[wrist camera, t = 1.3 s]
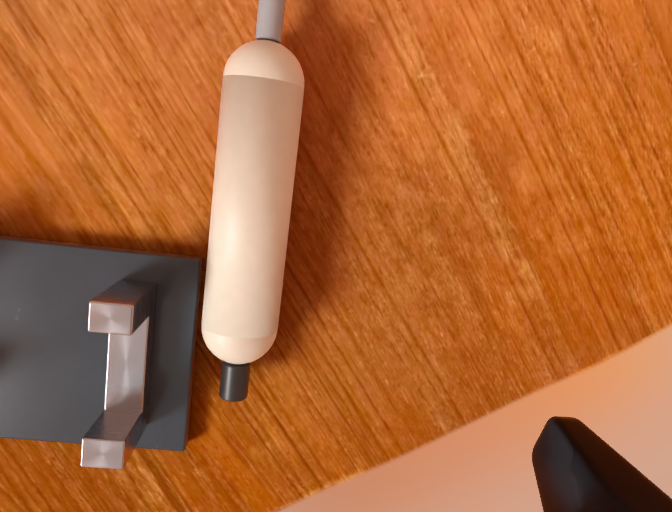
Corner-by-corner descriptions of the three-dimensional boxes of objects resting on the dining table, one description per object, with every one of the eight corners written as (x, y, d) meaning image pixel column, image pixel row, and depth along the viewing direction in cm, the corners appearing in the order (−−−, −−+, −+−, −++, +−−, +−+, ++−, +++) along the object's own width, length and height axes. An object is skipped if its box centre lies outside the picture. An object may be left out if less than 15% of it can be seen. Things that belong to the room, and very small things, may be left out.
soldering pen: (271, 384, 25) (268, 416, 22) (202, 378, 25) (188, 409, 22) (319, -48, 22) (323, -82, 19) (240, -60, 22) (231, -97, 19)
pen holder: (203, 256, 24) (183, 278, 20) (187, 443, 25) (165, 501, 21) (-135, 219, 23) (-236, 234, 18) (-130, 419, 24) (-223, 475, 20)
